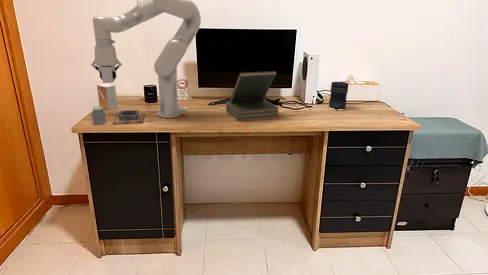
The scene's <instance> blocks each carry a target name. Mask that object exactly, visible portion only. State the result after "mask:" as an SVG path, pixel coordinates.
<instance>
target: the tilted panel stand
mask: <svg viewBox="0 0 488 275" xmlns="http://www.w3.org/2000/svg"><path fill="white" fill-rule="evenodd" d="M276 76H277V72H276V70H273V71H253V72H252V71H251V72H248V71H247V72H239V75H238V77H237V79H236V83H235V86H234V88H233V91H232V93H231V96H230V99H229V100H230V101H226V102H225V109H226V110H225V112H226V113H227V112H228V113H227V114H228V115H230V116H231V117H232V118H233V117H234V118H235V119H236V120H237V121H236V120H235V119H234V118H233V119H234V120H235V121H236V122H238V121H243V122H250V120H254V121H261V120H262V119H264V120H273V119H272V118H274V119H278V116H279V114H278V112H279V107H278V106H277V105H275V104H273V103H272V102H270V101H268V100H267V99H265V98H266V96H267V93H268V91H269V89H270V88H271V86H272V84H273V82H274V79H275V77H276Z"/></svg>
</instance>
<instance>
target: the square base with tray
mask: <svg viewBox="0 0 488 275" xmlns="http://www.w3.org/2000/svg"><path fill="white" fill-rule="evenodd" d="M139 112H140V111H139V110H134V109H133V110H121V111H120V113H117V114H116V116H115V118H114V120H113V122H112V124H113V125H127V124H128V125H129V124H130V125H133V124H134V125H135V124H138V125H139V124H143V123H144V119H145V116H146V114H145V112H141V113H139Z"/></svg>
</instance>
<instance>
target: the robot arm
mask: <svg viewBox="0 0 488 275" xmlns="http://www.w3.org/2000/svg"><path fill="white" fill-rule="evenodd" d="M164 13H166V14H168V15H171V16H174V17H177V18H179V19H182V22H181V25H180V26H179V28H178V30H177V31H176V33H175V35H174V36H173V37H172V38H171V39H169V40H168V42H166V43H165V46H164V47H163V49H162V50H161V51H160V54H159V55H158V57H157V59H156V60H155V62H154V65H153V66H154V67H153V69H154V71H155V73H156V74H157V82H158V83H157V84H158V97H159V98H158V99H159V111H158V112H157V114H156V115H157V116H158V117H159V118H165V119H170V118H171V119H173V118H174V119H175V118H178V117H180V116H181V115H182V112H185V113H186V112H187V111H188V109H187V107H184V106H183V107H180V106H179V100H178V99H179V98H178V97H179V96H178V65H179V64H180V62H181V60H182V59H183V57H184V56H185V55H186V53H187V51H188V48H189V47H190V45H191V43H192V41H193V40H194V38H196V35H197V33H198V31H199V30H200V26H201V20H202V18H201V17H202V16H201V13H200V10H199V8H198V6H197V5H196V3H195V2H193V1H192V0H143V1H140V2H139V3H137V4H136V5H135V6H134V7H133V8H131V9H130V10H128V11H126V12H124V13H122V14H120V15H114V16H108V17H107V16H101V15H99V16H98V15H97V16H94V17H92V27H93V33H94V40H95V45H94V60H93V62H92V63H91V64H90V66H91V67H92V68H94V69H95V70H96V71H98V73H99V78H100V79H101V81H103V80H102V73H101V67H102V66H111V67H112V70H113V72H112V74H113V80H115V81H116V78H117V71H118V69H119V68H121V67H122V66H123V63H121V62H120V60H119V59H118V57H117V52H116V47H115V45H113V44H116V41H115V40H113V39H112V33H115V34H118V33H122V32H125V31H127V30H129V29H132V28H134V27H136V26H138V25H140V24H142V23H146V22H147V21H149V20H151V19H154V18H155V17H158V16H159V15H162V14H164Z"/></svg>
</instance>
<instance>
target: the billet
mask: <svg viewBox="0 0 488 275" xmlns="http://www.w3.org/2000/svg"><path fill="white" fill-rule="evenodd" d="M112 72H113V70H112V67H111V66H102V67H101V73H102V80H101V81H102V84H106V83H107V84H114V83H115V81H116V79H115V80H113V74H112Z"/></svg>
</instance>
